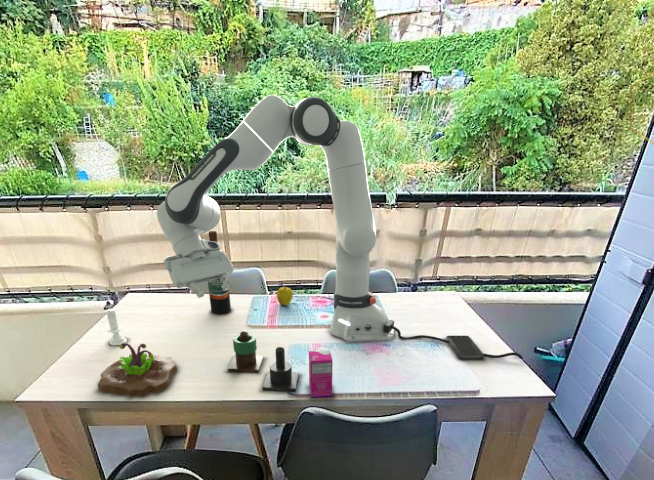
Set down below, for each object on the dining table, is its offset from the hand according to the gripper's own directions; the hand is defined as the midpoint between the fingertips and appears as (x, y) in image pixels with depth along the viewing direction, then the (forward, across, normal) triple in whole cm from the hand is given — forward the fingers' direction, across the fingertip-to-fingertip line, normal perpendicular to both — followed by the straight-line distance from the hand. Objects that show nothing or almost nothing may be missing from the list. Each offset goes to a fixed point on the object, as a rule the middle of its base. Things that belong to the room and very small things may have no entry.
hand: (214, 292), depth 124 cm
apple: (+5, +44, +21) cm, 49 cm away
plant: (+12, -25, +17) cm, 33 cm away
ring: (+19, -1, 0) cm, 19 cm away
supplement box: (+41, +2, -16) cm, 44 cm away
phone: (+52, +53, -31) cm, 81 cm away
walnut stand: (+23, 0, +3) cm, 24 cm away
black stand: (+33, -1, -8) cm, 34 cm away
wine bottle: (-4, +23, +32) cm, 40 cm away
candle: (-6, -18, +37) cm, 41 cm away
